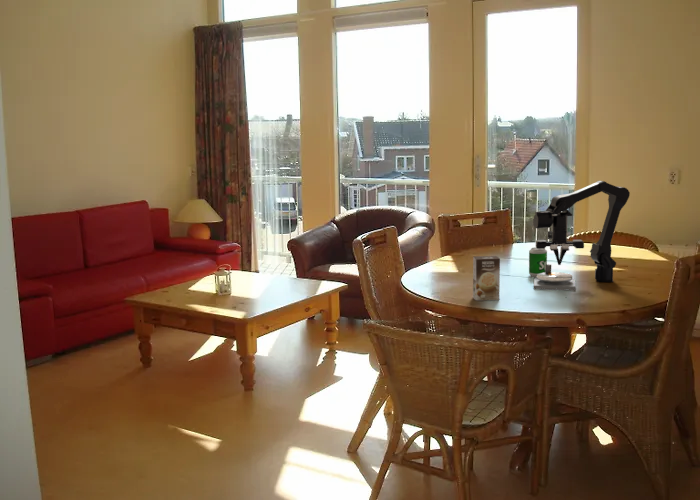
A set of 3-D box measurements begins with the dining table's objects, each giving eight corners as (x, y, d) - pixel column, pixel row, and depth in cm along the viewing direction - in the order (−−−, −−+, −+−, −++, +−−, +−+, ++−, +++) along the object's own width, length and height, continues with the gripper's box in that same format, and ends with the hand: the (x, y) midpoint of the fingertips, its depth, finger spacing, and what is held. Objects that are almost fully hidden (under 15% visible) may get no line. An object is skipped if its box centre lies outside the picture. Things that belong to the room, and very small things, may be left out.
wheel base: (574, 282, 308) (574, 275, 307) (575, 290, 294) (575, 283, 293) (534, 281, 312) (534, 274, 312) (533, 289, 298) (533, 282, 297)
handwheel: (572, 275, 307) (572, 264, 306) (572, 282, 294) (572, 270, 293) (537, 274, 311) (537, 263, 310) (536, 281, 298) (536, 270, 297)
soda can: (534, 278, 318) (534, 250, 316) (525, 274, 325) (525, 247, 323) (550, 276, 320) (550, 249, 318) (541, 273, 327) (541, 246, 325)
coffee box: (476, 301, 282) (475, 259, 279) (472, 297, 288) (472, 256, 285) (500, 300, 282) (500, 258, 279) (496, 296, 288) (496, 255, 285)
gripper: (581, 224, 309) (580, 261, 312) (534, 224, 312) (534, 261, 315) (584, 228, 298) (583, 266, 301) (536, 228, 302) (536, 266, 304)
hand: (559, 264), depth 305 cm, fingers closed
